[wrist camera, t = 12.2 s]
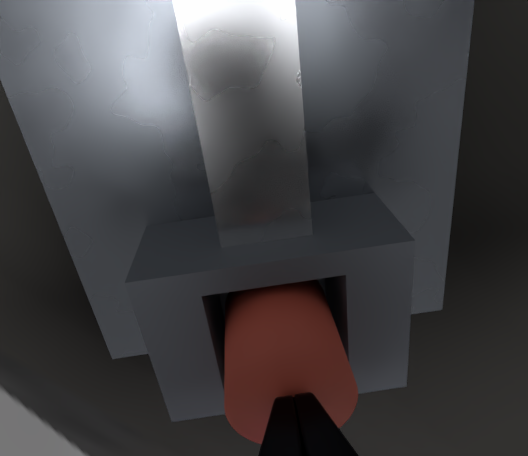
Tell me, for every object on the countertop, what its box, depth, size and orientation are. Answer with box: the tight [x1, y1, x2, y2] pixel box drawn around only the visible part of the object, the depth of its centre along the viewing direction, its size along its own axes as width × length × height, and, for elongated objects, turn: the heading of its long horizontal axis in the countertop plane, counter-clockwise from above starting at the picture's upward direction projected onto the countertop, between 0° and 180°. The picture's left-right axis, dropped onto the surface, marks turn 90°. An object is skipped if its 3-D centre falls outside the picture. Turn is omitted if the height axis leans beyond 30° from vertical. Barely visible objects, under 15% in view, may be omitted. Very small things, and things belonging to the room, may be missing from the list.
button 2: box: [224, 279, 358, 444], centre depth 11 cm, size 3×3×3 cm
